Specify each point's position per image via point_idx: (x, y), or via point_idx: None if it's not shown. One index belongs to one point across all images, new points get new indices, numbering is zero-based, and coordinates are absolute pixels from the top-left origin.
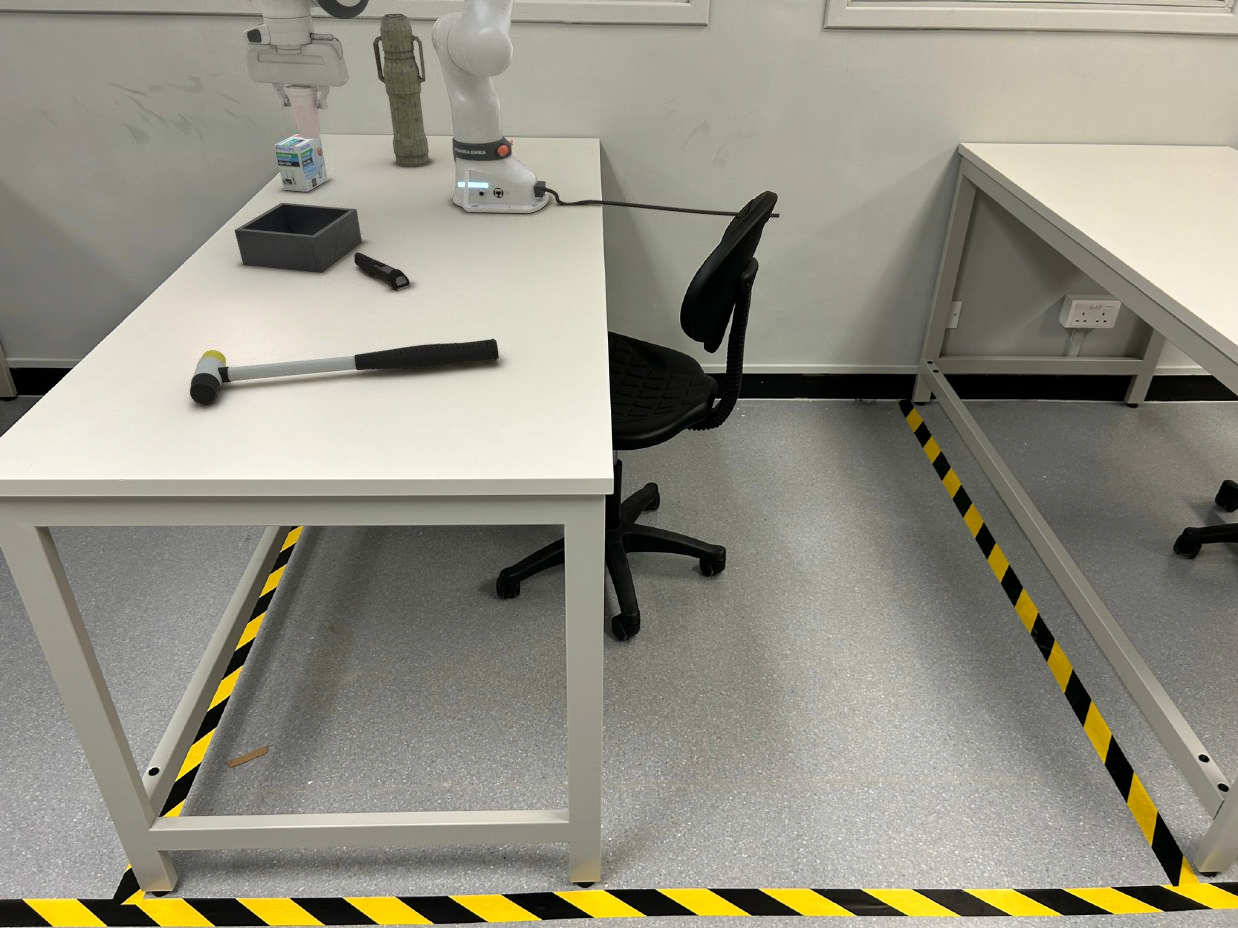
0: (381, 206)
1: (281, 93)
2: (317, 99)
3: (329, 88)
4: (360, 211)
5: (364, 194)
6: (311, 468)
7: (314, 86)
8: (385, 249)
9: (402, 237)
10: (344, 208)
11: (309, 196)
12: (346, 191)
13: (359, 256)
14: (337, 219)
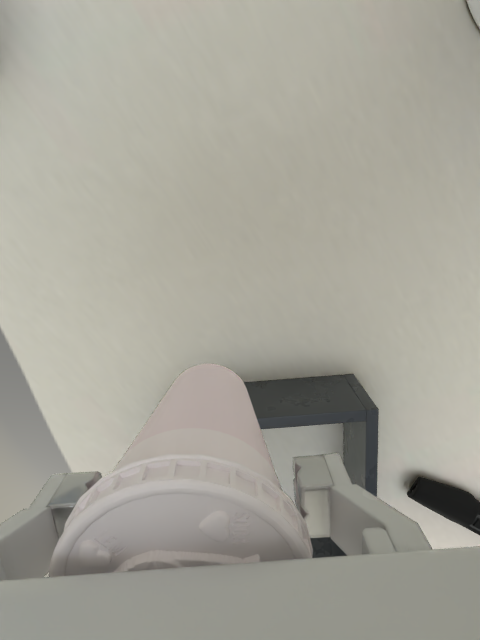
0: (276, 124)
1: (30, 573)
2: (305, 520)
3: (421, 535)
4: (242, 184)
5: (169, 29)
6: None
7: (281, 550)
8: (418, 392)
9: (427, 320)
10: (346, 414)
11: (27, 109)
12: (98, 19)
13: (427, 505)
14: (368, 481)
